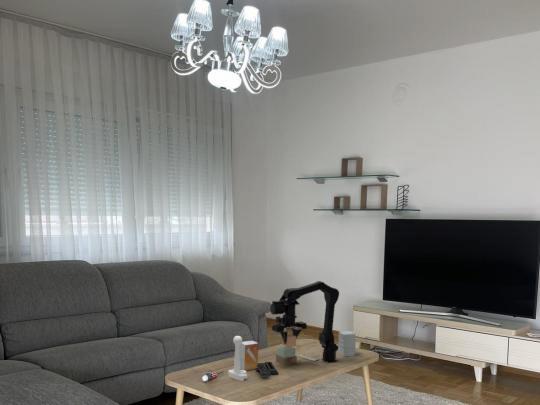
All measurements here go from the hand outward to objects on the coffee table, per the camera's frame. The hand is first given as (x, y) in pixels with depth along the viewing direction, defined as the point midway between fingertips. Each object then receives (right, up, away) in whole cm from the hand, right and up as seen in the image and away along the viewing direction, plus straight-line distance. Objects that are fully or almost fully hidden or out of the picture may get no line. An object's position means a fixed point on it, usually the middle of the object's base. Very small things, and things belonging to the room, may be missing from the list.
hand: (289, 343), depth 260 cm
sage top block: (-1, -8, +5) cm, 10 cm away
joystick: (-25, -11, -20) cm, 34 cm away
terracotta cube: (0, -1, 0) cm, 1 cm away
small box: (-21, -11, -6) cm, 25 cm away
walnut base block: (-1, -12, +5) cm, 13 cm away
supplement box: (+34, -13, +22) cm, 42 cm away
